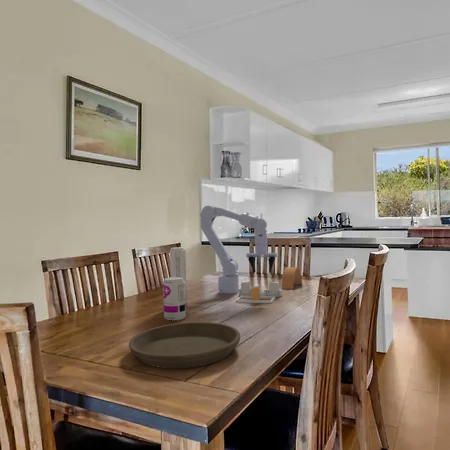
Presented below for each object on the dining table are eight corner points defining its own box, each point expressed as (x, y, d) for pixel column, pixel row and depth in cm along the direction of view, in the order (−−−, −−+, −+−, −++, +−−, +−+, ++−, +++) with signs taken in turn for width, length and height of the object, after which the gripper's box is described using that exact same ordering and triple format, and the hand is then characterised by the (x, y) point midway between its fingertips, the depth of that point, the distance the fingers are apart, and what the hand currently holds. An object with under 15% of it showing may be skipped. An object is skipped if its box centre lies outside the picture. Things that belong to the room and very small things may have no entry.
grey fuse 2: (269, 296, 180) (268, 282, 180) (270, 294, 182) (270, 281, 182) (278, 296, 179) (277, 282, 179) (279, 295, 181) (278, 281, 181)
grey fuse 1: (241, 295, 184) (240, 282, 184) (242, 294, 186) (242, 281, 186) (249, 295, 183) (249, 282, 183) (251, 294, 185) (250, 281, 185)
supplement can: (168, 322, 144) (166, 280, 144) (161, 317, 152) (159, 278, 151) (189, 319, 148) (187, 278, 148) (181, 314, 155) (179, 275, 155)
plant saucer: (105, 366, 104) (104, 348, 104) (164, 332, 133) (163, 318, 133) (216, 379, 93) (215, 359, 93) (254, 339, 122) (254, 324, 122)
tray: (236, 304, 170) (235, 299, 170) (241, 299, 179) (241, 295, 179) (271, 305, 165) (271, 300, 165) (275, 300, 174) (275, 296, 174)
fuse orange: (254, 300, 174) (253, 285, 174) (259, 300, 173) (259, 285, 173) (252, 302, 170) (251, 287, 170) (257, 302, 170) (257, 287, 169)
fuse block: (237, 298, 182) (237, 290, 182) (241, 295, 189) (241, 287, 189) (280, 299, 176) (279, 291, 176) (282, 296, 183) (282, 288, 183)
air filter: (190, 305, 170) (187, 246, 170) (182, 309, 165) (179, 248, 164) (177, 304, 173) (174, 246, 173) (168, 308, 167) (166, 248, 167)
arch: (302, 283, 213) (301, 265, 213) (293, 291, 195) (292, 270, 195) (291, 283, 216) (291, 265, 215) (281, 290, 197) (280, 270, 197)
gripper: (244, 244, 189) (245, 273, 189) (274, 244, 184) (275, 273, 185) (247, 243, 195) (248, 271, 196) (277, 243, 191) (278, 271, 191)
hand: (262, 272), depth 191 cm, fingers open, 7 cm apart
